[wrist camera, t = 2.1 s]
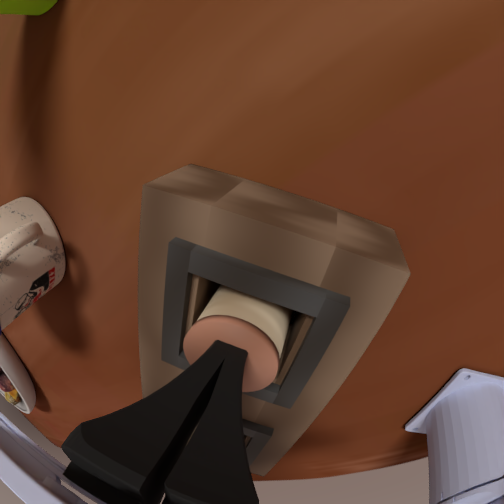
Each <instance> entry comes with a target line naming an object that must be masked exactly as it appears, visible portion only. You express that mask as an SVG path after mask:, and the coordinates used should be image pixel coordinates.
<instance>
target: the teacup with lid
mask: <svg viewBox="0 0 504 504" xmlns="http://www.w3.org/2000/svg"><path fill="white" fill-rule="evenodd" d="M64 273H65V253H64V248H63V244H62V241H61V238H60V235H59V233H58V230H57V228H56V226H55V224H54V222H53V220H52V219H51V217H50V216H49V214H48V213H47V212H46V210H45V209H44V208H43V207H42V206H41V205H40V204H39V203H38V202H37V201H35V200H33V199H31V198H29V197H20V198H18V199H16V200H13V201H11V202H9V203H7V204H5V205H3V206H1V207H0V335H1V331H2V330H3V329H4V328H5V327H6V326H7V325H9V324H10V323H11V322H12V321H13V320H14V319H15V318H17V317H18V316H19V315H20V314H21V313H23V312H24V311H25V310H26V309H27V308H29V307H30V306H31V305H32V304H33V303H35V302H36V301H37V300H38V299H40V298H41V297H42V296H43V295H44V294H46V293H47V292H48V291H50V290H51V289H52V288H53V287H55V286H56V285H57V284H58V283H59V282H60V281H61V280H62V278H63V276H64Z"/></svg>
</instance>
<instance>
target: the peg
mask: <svg viewBox="0 0 504 504" xmlns="http://www.w3.org/2000/svg"><path fill="white" fill-rule="evenodd" d="M292 313H293V310H292V309H289V308H286V307H283V306H281V305H278V304H275V303H272V302H269V301H266V300H263V299H260V298H258V297H255V296H252V295H249V294H246V293H244V292H241V291H238V290H235V289H233V288H230V287H227V286H224V285H222V284H221V285H220V287H219V288H218V290H217V291H216V293H215V294H214V296H213V297H212V299H211V300H210V302H209V303H208V305H207V306H206V308H205V309H204V311H203V312H202V314H201V315H200V317H199V318H198V320H197V321H196V322H195V323H194V324H193V325H192V327H191V328H190V330H189V331H188V333H187V334H186V336H185V338H184V342H183V349H184V353H185V356H186V358H187V360H188V362H189V364H190V365H192V364H193V363H194V362H195V361H196V360H197V359H198V358H199V357H200V356H201V355H203V353H204V352H205V351H206V350H207V349H208V348H209V347H210V346H211V345H212V344H213V342H214V341H215V340H220V341H223V342H225V343H228V344H231V345H233V346H236V347H239V348H241V349H244V350H247V352H248V356H247V358H246V362H245V367H244V374H243V384H242V392H253V391H258V390H261V389H263V388H265V387H267V386H268V385H270V384H271V383H272V382H273V380H274V379H275V377H276V374H277V371H278V367H279V363H280V356H281V353H282V349H283V346H284V342H285V339H286V335H287V332H288V328H289V324H290V321H291V317H292Z"/></svg>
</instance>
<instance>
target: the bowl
mask: <svg viewBox="0 0 504 504" xmlns="http://www.w3.org/2000/svg"><path fill="white" fill-rule="evenodd" d="M0 393H1V394H2V395H3V396H4V397H5V398H6V400H7V401H8V402H10V403H12V404H13V405H14V406H15V407H17V408H18V409H19V410H21V411H22V412H24V413H27V414H29V413H30V412H31V411H32V410H33V408H34V406H35V402H36V393H35V389H34V386H33V383H32V381H31V378H30V376H29V374H28V372H27V371H26V369H25V367H24V365H23V364H22V362H21V360H20V359H19V357H18V356H17V354H16V353H15V351H14V350H13V348H12V347H11V345H10V344H9V342H8V341H7V339H6V338H5V336H4V335H3V333H2V332H1V335H0Z"/></svg>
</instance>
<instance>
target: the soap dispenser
mask: <svg viewBox="0 0 504 504" xmlns="http://www.w3.org/2000/svg"><path fill="white" fill-rule="evenodd" d="M57 1H58V0H0V14H22V15H41V14H43V13H45V12H47V11H48V10H49V9H50V8H51V7H53V6H54V4H55V3H56V2H57Z"/></svg>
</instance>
